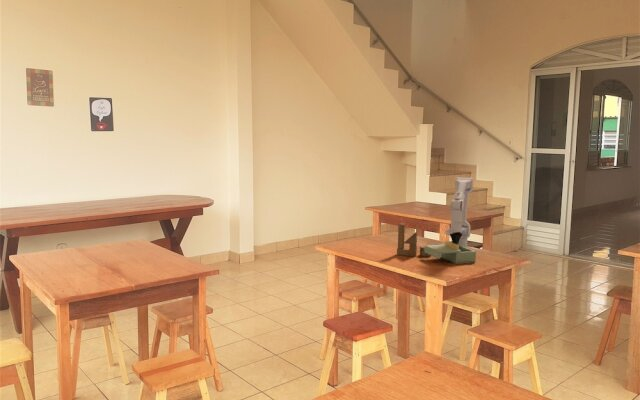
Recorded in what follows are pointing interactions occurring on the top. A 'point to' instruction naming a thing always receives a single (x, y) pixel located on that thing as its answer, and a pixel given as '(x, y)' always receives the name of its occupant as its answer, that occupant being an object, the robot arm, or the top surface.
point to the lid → (441, 249)
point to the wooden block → (406, 242)
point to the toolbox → (461, 256)
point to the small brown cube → (423, 252)
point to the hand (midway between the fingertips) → (455, 245)
